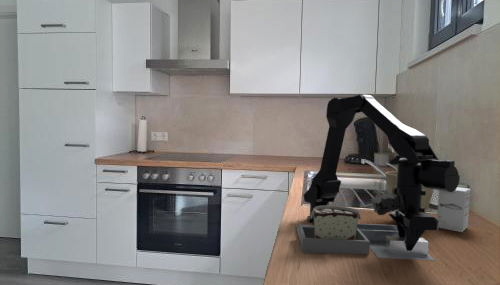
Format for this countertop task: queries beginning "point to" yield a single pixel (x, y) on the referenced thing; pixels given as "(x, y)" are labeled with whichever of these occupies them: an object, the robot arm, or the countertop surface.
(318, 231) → the food container
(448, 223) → the supplement box
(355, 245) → the case
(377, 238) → the bracket
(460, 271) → the countertop surface
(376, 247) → the grey mat
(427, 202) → the plant pot
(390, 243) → the silver metal bar
